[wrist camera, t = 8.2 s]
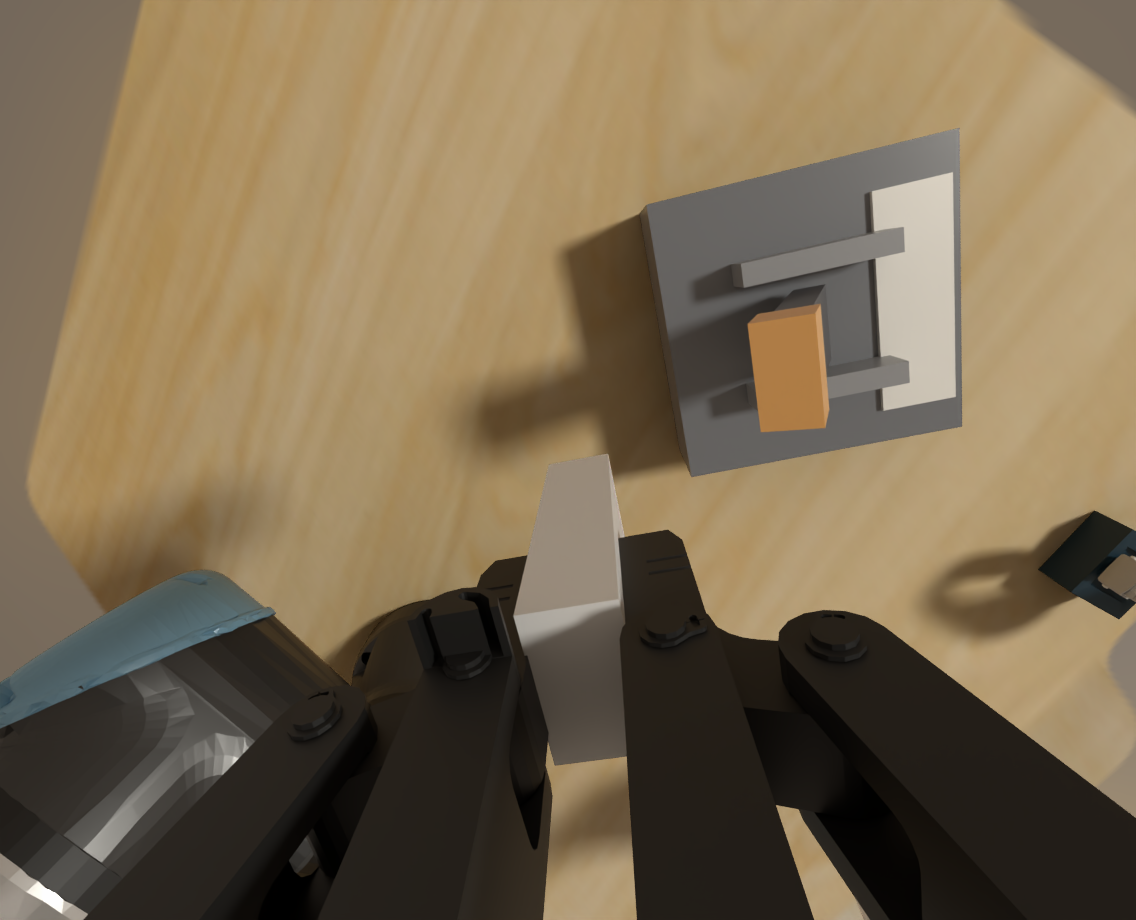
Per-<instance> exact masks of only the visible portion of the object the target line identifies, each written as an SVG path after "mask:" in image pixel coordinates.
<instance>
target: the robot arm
mask: <svg viewBox="0 0 1136 920" xmlns="http://www.w3.org/2000/svg"><path fill="white" fill-rule="evenodd" d="M275 614H276V612H275V611H274V610H273V609H272V608H270V607H263V606H262V605H261V604H260V603H258V602H257V601H256V600H255V599H254V598H252V597H251V596H250V595H249V594H247V593H246V592H245V591H244V590H243V589H241V588H240V587H239V586H238V585H236V584H235V583H234V582H233V581H232V580H230V579H229V578H228V577H226V576H225V575H223V574H220V573H218V572H215V571H210V570H195V571H189V572H186V573H183V574H180V575H177V576H175V577H172V578H170V579H168V580H166V581H164V582H162V583H160V584H158V585H156V586H154V587H152V588H150V589H148V590H147V591H145V592H143V593H141V594H139V595H137V596H135V597H134V598H132V599H130V600H129V601H127V602H125V603H123V604H122V605H120V606H118V607H116V608H115V609H113V610H111V611H110V612H108V613H106V614H104V615H103V616H101V617H100V618H98V619H96V620H95V621H93V622H91V623H90V624H88V625H86V626H85V627H83V628H81V629H80V630H78V631H76V632H75V633H73V634H72V635H70V636H68V637H67V638H65V639H64V640H62V641H60V642H59V643H57V644H56V645H54V646H53V647H51V648H49V649H48V650H46V651H45V652H43V653H42V654H40V655H38V656H37V657H35V658H34V659H32V660H31V661H30V662H28V663H27V664H25V665H24V666H22V667H21V668H19V669H18V670H16V671H15V672H14V673H13V674H12V676H10V677H8V678H6V679H5V680H3V681H2V682H0V920H543V913H544V900H545V887H546V874H547V861H548V848H549V835H550V822H551V809H552V790H551V783H550V780H549V776H548V773H547V769H546V766H545V764H546V754H547V744H548V743H549V746H550V750H551V754H552V757H553V761H554V764H555V765H563V764H571V763H579V762H586V761H594V760H602V759H610V758H618V757H625V756H627V767H628V783H629V799H630V815H631V831H632V847H633V863H634V879H635V895H636V911H637V920H814V918H813V915H812V912H811V909H810V906H809V903H808V900H807V897H806V894H805V891H804V888H803V885H802V882H801V879H800V876H799V873H798V870H797V867H796V864H795V861H794V858H793V855H792V852H791V849H790V846H789V843H788V840H787V837H786V834H785V831H784V828H783V825H782V822H781V819H780V816H779V813H778V810H777V807H776V805H779V806H785V807H790V808H796V809H799V811H800V813H801V816H802V818H803V820H804V822H805V823H806V825H807V826H808V828H809V829H810V831H811V832H812V834H813V835H814V837H815V838H816V840H817V841H818V843H819V844H820V846H821V847H822V849H823V850H824V852H825V853H826V855H827V856H828V858H829V859H830V861H831V862H832V864H833V865H834V867H835V868H836V870H837V871H838V873H839V874H840V876H841V877H842V879H843V880H844V882H845V883H846V885H847V886H848V888H849V889H850V891H851V892H852V894H853V895H854V897H855V898H856V900H857V901H858V903H859V904H860V906H861V907H862V909H863V910H864V912H865V913H866V915H867V916H868V918H869V919H870V920H1136V818H1135V817H1134V816H1132V815H1131V814H1130V813H1128V812H1127V811H1126V810H1124V809H1123V808H1122V807H1121V806H1119V805H1118V804H1116V803H1115V802H1114V801H1113V800H1111V799H1110V798H1109V797H1107V796H1106V795H1105V794H1103V793H1102V792H1101V791H1100V790H1098V789H1097V788H1096V787H1094V786H1093V785H1092V784H1090V783H1089V782H1088V781H1086V780H1085V779H1084V778H1082V777H1081V776H1080V775H1078V774H1077V773H1076V772H1075V771H1073V770H1072V769H1071V768H1069V767H1068V766H1067V765H1065V764H1064V763H1063V762H1061V761H1060V760H1059V759H1057V758H1056V757H1055V756H1054V755H1052V754H1051V753H1050V752H1048V751H1047V750H1046V749H1044V748H1043V747H1042V746H1040V745H1039V744H1038V743H1036V742H1035V741H1034V740H1032V739H1031V738H1030V737H1029V736H1027V735H1026V734H1025V733H1023V732H1022V731H1021V730H1019V729H1018V728H1017V727H1015V726H1014V725H1013V724H1011V723H1010V722H1009V721H1008V720H1006V719H1005V718H1004V717H1002V716H1001V715H1000V714H998V713H997V712H996V711H994V710H993V709H992V708H990V707H989V706H988V705H986V704H985V703H984V702H983V701H981V700H980V699H979V698H977V697H976V696H975V695H973V694H972V693H971V692H969V691H968V690H967V689H965V688H964V687H963V686H962V685H960V684H959V683H958V682H956V681H955V680H954V679H952V678H951V677H950V676H948V675H947V674H946V673H944V672H943V671H942V670H940V669H939V668H938V667H937V666H935V665H934V664H933V663H931V662H930V661H929V660H927V659H926V658H925V657H923V656H922V655H921V654H919V653H918V652H917V651H916V650H914V649H913V648H912V647H910V646H909V645H908V644H906V643H905V642H904V641H902V640H901V639H900V638H898V637H897V636H896V635H894V634H893V633H892V632H891V631H889V630H888V629H887V628H885V627H884V626H882V625H880V624H879V623H877V622H875V621H873V620H871V619H869V618H868V617H865V616H862V615H858V614H854V613H850V612H846V611H831V610H822V611H816V612H810V613H804V614H802V615H800V616H798V617H796V618H794V619H792V620H790V621H788V622H787V623H786V625H785V626H784V627H783V628H782V629H781V630H780V632H779V640H778V641H770V640H756V639H749V638H742V637H739V636H736V635H733V634H730V633H727V632H725V631H724V630H722V629H720V628H718V627H717V626H716V625H715V623H714V622H713V621H712V619H711V618H710V616H709V615H708V614H706V612H705V608H704V605H703V602H702V599H701V596H700V593H699V590H698V587H697V584H696V581H695V578H694V575H693V571H692V568H691V565H690V562H689V559H688V556H687V553H686V550H685V547H684V544H683V541H682V539H680V538H679V537H678V536H676V535H675V534H673V533H672V532H670V531H669V530H663V531H657V532H651V533H645V534H640V535H634V536H628V537H624V531H623V526H622V521H621V516H620V511H619V506H618V501H617V496H616V491H615V486H614V481H613V476H612V471H611V466H610V461H609V456H608V454H603V455H598V456H592V457H587V458H582V459H576V460H571V461H565V462H560V463H555V464H549V466H548V471H547V475H546V479H545V483H544V488H543V492H542V496H541V500H540V505H539V509H538V513H537V517H536V522H535V526H534V530H533V534H532V539H531V543H530V547H529V552H528V555H527V556H521V557H515V558H509V559H503V560H498V561H495V562H494V563H493V564H492V565H491V566H490V567H489V568H488V569H487V570H486V571H485V572H484V573H483V574H482V575H481V577H480V580H479V582H478V585H477V587H473V588H461V589H457V590H454V591H450V592H446V593H444V594H441V595H439V596H437V597H435V598H433V599H431V600H427V601H421V602H417V603H413V604H410V605H407V606H405V607H402V608H400V609H398V610H396V611H395V612H393V613H391V614H390V615H388V616H387V617H386V618H385V619H383V620H382V621H381V622H380V623H379V624H378V625H377V627H376V628H375V629H374V630H373V632H372V633H371V635H370V637H369V638H368V640H367V641H366V643H365V645H364V646H363V648H362V650H361V651H360V653H359V656H358V658H357V661H356V663H355V667H354V671H353V677H352V685H351V686H350V685H349V684H348V683H347V682H346V681H345V680H344V679H342V678H341V677H340V676H339V675H338V674H337V673H336V672H335V671H334V670H333V669H332V668H330V667H329V666H328V665H327V664H326V663H325V662H324V661H323V660H322V659H321V658H320V657H318V656H317V655H316V654H315V653H314V652H313V651H312V650H311V649H310V648H309V647H308V646H306V645H305V644H304V643H303V642H302V641H301V640H300V639H299V638H298V637H297V636H296V635H294V634H293V633H292V632H291V631H290V630H289V629H288V628H287V627H286V626H285V625H283V624H282V623H281V622H280V621H279V620H278V619H277V618H276V617H275V616H274V615H275Z"/></svg>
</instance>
